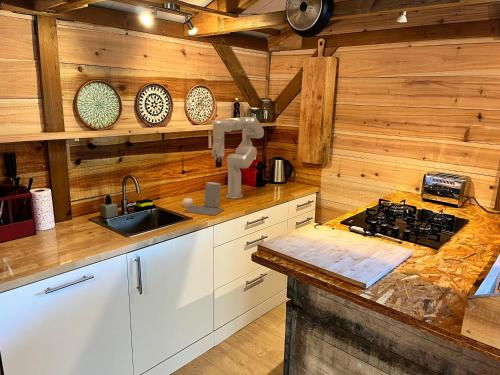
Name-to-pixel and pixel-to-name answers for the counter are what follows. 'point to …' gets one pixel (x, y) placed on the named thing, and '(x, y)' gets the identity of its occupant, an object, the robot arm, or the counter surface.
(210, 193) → the skincare box
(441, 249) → the counter surface
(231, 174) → the robot arm
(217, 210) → the mat
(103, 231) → the counter surface
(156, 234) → the counter surface
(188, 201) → the white round piece
